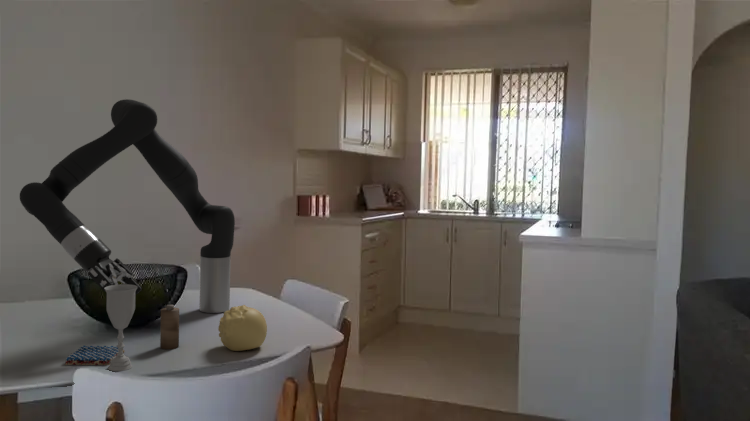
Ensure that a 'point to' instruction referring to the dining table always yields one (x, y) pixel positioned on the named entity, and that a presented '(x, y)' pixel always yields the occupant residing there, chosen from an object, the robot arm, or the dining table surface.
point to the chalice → (120, 319)
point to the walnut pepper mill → (169, 328)
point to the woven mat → (92, 356)
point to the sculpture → (242, 328)
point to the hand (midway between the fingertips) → (132, 295)
